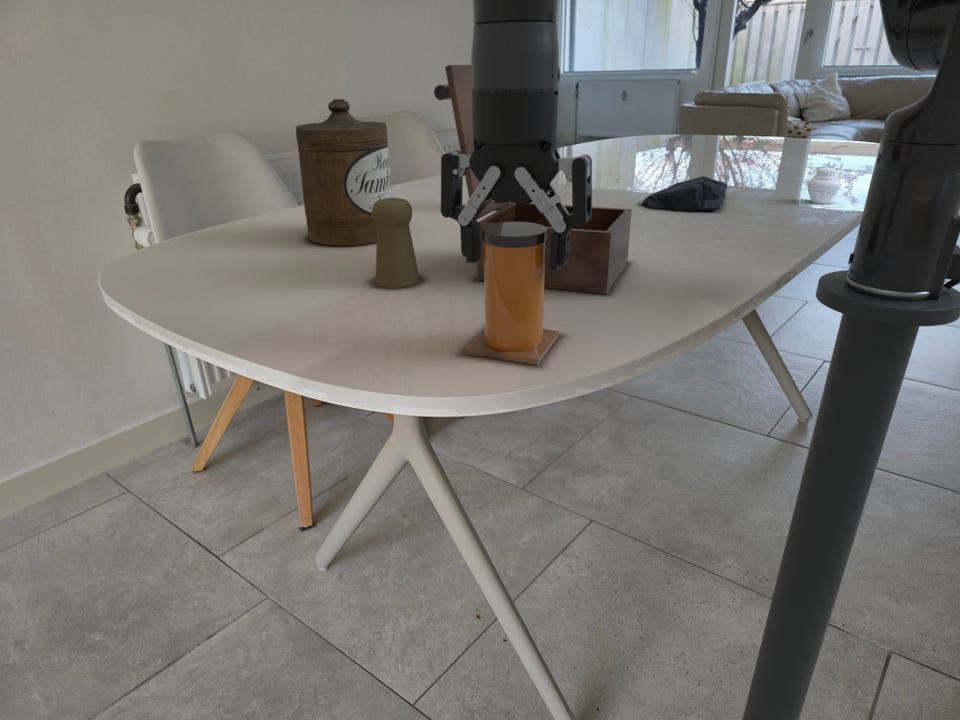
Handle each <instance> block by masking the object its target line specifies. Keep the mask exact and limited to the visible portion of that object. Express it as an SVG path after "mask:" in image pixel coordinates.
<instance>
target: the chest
mask: <svg viewBox="0 0 960 720" xmlns="http://www.w3.org/2000/svg"><path fill="white" fill-rule="evenodd" d="M563 205H564V206H565V208H566V209H567V211H568V212H569V214H570V213H573V212H572V205H570V204H563ZM632 210H633V209H632V208H621V207H620V208H619V207H603V206H602V207H601V206H592V218H591V219H590V220H589V221H588V222H587V223H586V224H585V225H584V226H583V227H576V228H573V229H571V231H570V251H569V259H568V261H567V263H566V264H565V265H564V266H562V268H561V269H560V270H559V271H558V272H555V271H550V239H551V233H552V232H553V231H554V229H553V227H552V226H551V224H550V223H549V221H548V220H547V218H546V217H545V215H544V214H542V213H541V212H540V211H539V210H538V209H537V207H536V206H535V204H534V203H533V202H532V203H529V204H528V205H521V204H516V203H514V202H512V203H511V204H509V205H507V206H506V207H504V208H502V209H498V210H497V211H495V212H494V213H492V214H490V215H488V216H486V217H484V218H483V219H480V220H479V221H478V222H480V230H481V257H480V260H478V261H477V262H476V279H477V281H478V282H479V281H481V282H484V245H483V239H482V229H483V228H484V227H485V226H488V225H491V224H495V223H501V222H530V223H536V224H540V225H543V226H545V227H546V228H547V240H546V258H545V289H554V290H556V289H557V290H563V291H573V292H581V293H590V294H600V295H608V292H609V291H610V290H611V288H612V286H613V285H614V284H615V282H616V281H617V279H618V278H619V276H620V275H621V273H622V272H623V270H624V268H625V267H626V265H627V264H628V260H629V259H628V257H629V246H630V235H631V234H630V233H631V223H632Z"/></svg>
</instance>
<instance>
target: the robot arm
mask: <svg viewBox="0 0 960 720" xmlns="http://www.w3.org/2000/svg"><path fill="white" fill-rule="evenodd" d="M878 1H879V6H880V12H881V13H880V14H881V18H882V24H883V28H884V33H885V38H886V42H887V45H888V46H887V47H888V49H889V51H890V54H891V56H892V58H893V59H894V61H895V63H897V64H898V66H899V67H901V69H904V70H906V71H908V72H913V73H924V74H925V73H927V74H936V75H935V77H934V80H933V82H932V85H931V87H930V89H929V91H928V92H927V93H926V94H925V95H924V96H923V97H921V98H920V99H919V100H918V101H916V102H914V103H912V104H910V105H908V106H906V107H902V108H899V109H896V110H894V111H892V112H891V113H890V114H889V115H888V116H887V117H886V119H885V122H884V124H883V125H884V126H883V128H882V133H881V136H880V137H881V139H880V142H879V146H878V150H877V154H876V158H875V162H874V166H873V169H872V170H873V171H872V174H871V178H870V182H869V187H868V191H867V194H866V198H865V199H866V200H865V203H864V207H863V211H862V215H861V220H860V224H859V228H858V231H857V236H856V239H855V244H854V248H853V252H852V253H849V259H848V262H847V265H848V270H849V272H848V274H847V277H846V281H845V284H846V286H847V287H849V288H850V289H852V290H854V291H857V292H859V293H862V294H865V295H869V296H873V297H878V298H883V299H890V300H900V301H920V300H939V298H940V294H941V291H942V288H943V286H944V287H945V288H947V289H948V290H949V289H950V288H954V287H955V286H957V285H959V284H960V246H959V245H958V240H959V237H960V0H878ZM558 17H559V0H472V24H473V26H472V27H473V29H472V42H471V55H470V65H471V72H472V118H473V141H474V149H473V152H472V155H469V154H462V153H461V151H460V150H452V151H450V152H446V153H444V154H442V155H441V158H440V213H441V216H442V217H444V218H446V219H447V218H450V219H452V220H455V221H456V222H457V223H458V224H459V228H460V229H459V230H460V252H461V255H462V257H465V261H466V263H469V264H475V263H477V261H478V260H480V257H481V230H480V222H479V221H478V220H479V219H478V217H479V216H480V215H481V213H482V212H483V210H484V209H485V208H486V206H487V205H488V204H489V203H490V202H491V201H492V200H494V201H495V203H507V202H514V203H516V204H521V205H528V204H529V203H534V204H535V206H536V207H537V209H538V210H539V211H540V212H541V213H542V214H544V215H545V217H546V218H547V220H548V221H549V223H550V224H551V226H552V227H553V229H554V231H553V232H552V233H551V239H550V271H555V272H558V271H559V270H560V269H561V268H562V266H564V265H565V264H566V263H567V261H568V259H569V251H570V231H571V229H573V228H576V227H583V226H584V225H585V224H586V223H587V222H588V221H589V220H590V219H591V218H592V207H593V159H592V158H591V157H592V156H590V155H589V154H586V153H585V154H582V155H579V156H569V157H561V156H560V154H559V151H558V147H557V144H558V143H557V141H558V114H559V113H558V112H559V111H558V110H559V83H560V80H561V68H560V44H559V33H558V19H559V18H558ZM469 166H470V168H471V170H472V172H473V173H474V175H475V176H476V178H477V179H478V181H479V182H480V183H479V185H478V186H477V188H476V189H475V191H474V192H473V194H472V195H471V197H470V198H469V197H468V200H467V203H466V204H465V205H464V204H463V189H464V188H463V186H464V183H463V181H464V177H465V175H466V174H467V171H468V168H469ZM560 171H561V172H563V174H564V178H565V180H566V181H567V182H568V183H571V188H572V189H571V202H572V205H571V206H572V212H573V213H570V214H569V212H568V211H567V209H566V208H565V206H564V205H565V204H564V203H563V201H562V197H561V195H560V194H559V193H558V191H557V190H556V189H555V186H554V185H553V183H552V182H553V181H554V179H555V178H556V176H557V175H558V173H559V172H560ZM946 280H949V281H947V282H945V281H946Z"/></svg>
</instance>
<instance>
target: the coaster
mask: <svg viewBox="0 0 960 720" xmlns="http://www.w3.org/2000/svg"><path fill="white" fill-rule="evenodd" d="M559 337H560V331H559V330H552V329H546V328H544V331H543V342H542V344H541V345H539V346H538V347H536V348H533V349H530V350H524V351H504V350H499V349H496V348H493V347H491V346H489V345H488V344H487V343H486V341H485V329H484V330H483V331H482V332H481V333H480V334H479V335H478V336H477V337H476V338H475V339H474V340H472V342H471V343H470V344H469V345H468V346H467V347H466V348H465V355H469V356H476V357H482V358H490V359H496V360H502V361H509V362H515V363H521V364H522V363H523V364H527V365H534V366H539V364H540V363H541V361H542V360H543V358H544V357H545V356H546V355H547V353H548V352H549V351H550V349H551V348H552V346H553V345H554V344H555V342H556V341H557V340H558V338H559Z"/></svg>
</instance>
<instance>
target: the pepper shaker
mask: <svg viewBox="0 0 960 720" xmlns="http://www.w3.org/2000/svg"><path fill="white" fill-rule="evenodd" d="M372 217H373V220H374V222H375V223H376V224H377V225H378V228H377V242H376V251H375V252H376V254H375V255H376V256H375V276H374V277H375V279H374V283H375V285H377V286H379V287H381V288H388V289H401V288H408V287H412V286H414V285H417V284H418V283H419V282H420V273H419V269H418V263H417V257H416V253H415V248H414V243H413V238H412V233H411V228H410V223H411V221H412V220H413V219H412V218H413V207H412V204H411V203H410V202H409V201H408V200H407V199H406V198H405V199H404V198H400V197H393V198H385V199H381V200H378V201H376V202H375V203H374V205H373V208H372Z"/></svg>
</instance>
